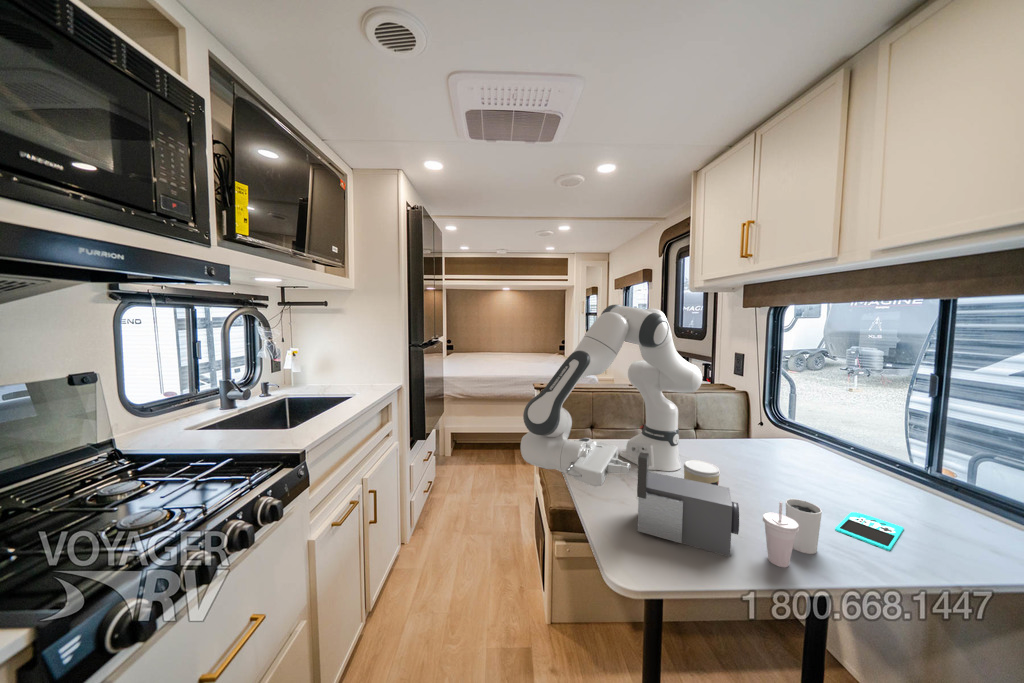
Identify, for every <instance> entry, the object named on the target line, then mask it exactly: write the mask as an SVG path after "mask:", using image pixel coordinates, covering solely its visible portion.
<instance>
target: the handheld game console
mask: <svg viewBox="0 0 1024 683" xmlns="http://www.w3.org/2000/svg"><path fill="white" fill-rule="evenodd" d="M834 530H835V531H836V532H838V533H841V534H843V535H845V536H848V537H850V538H854V539H856V540H860V541H862V542H864V543H866V544H868V545H869V544H870V545H872V546H874V547H875V546H877V547H878V548H879V549H882V550H885V551H887V552H891V551H892V548H893V547H894V545H895V543H897V541H898V540H899V538H900V536H901V535H902V533H903V531H904V530H905V528H904V527H903V526H901V525H898V524H895V523H892V522H889V521H885V520H883V519H880V518H877V517H874V516H871V515H868V514H864V513H860V512H855V511H850V513H848V515H846V516H845V517H844V518H843V520H842V521H841V522H840V523H838V524H837V526H835V528H834Z"/></svg>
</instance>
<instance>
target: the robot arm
mask: <svg viewBox="0 0 1024 683" xmlns="http://www.w3.org/2000/svg"><path fill="white" fill-rule="evenodd" d="M625 342H626V343H630V344H633V345H638V347H639V351H640V355H641V357H642V359H643V360H635V361H633V362H631V364H630V365H629V366H628V369H627V378H628V380H629V382H630V384H631V385H632V386H634V387H635V388H636V390H637V391H638V392H639V394H640V395H641V397H642V399H643V402H644V406H645V407H644V408H645V423H643V424H642V425H640V426H639V430H641V432H640V433H637V434H636V435H634V436H633V437H631V438H630V439H629V440H628V441H626V442H627V443H626V446H625V448H624V449H622V450H620V451H619V447H618V446H617V445H615V444H612V443H607V442H604V441H599V440H592V439H591V438H590V437H582V438H580V439H574V440H572V439H569V438H570V434H571V430H572V427H573V418H572V415H571V414H570V412H569V411H568V410H567V409H566V408H565V407H563V404H564V403H565V401H566V400H567V399H568V397H569V396H570V394H571V393H572V391H573V390H574V389H575V387H576V386H577V384H578V383H579V382H580V381H581V380H582V379H584V378H586V377H590V376H598V375H602V374H603V373H605V372H606V371H607V369H609V367H611V365H612V364H613V362H614V360H616V357H617V356H618V354H619V353H620V350H621V348H622V347H623V345H624V343H625ZM702 383H703V375H702V372H701V370H700V368H699V367H698V366H697V365H695V364H693V363H691V362H689V361H687V360H686V359H685V358H683V357H682V356H681V355H680V354H679V353H678V351H677V349H676V346H675V344H674V339H673V334H672V329H671V327H670V324H669V322H668V319H667V317H666V315H665V313H664V312H663V311H662V310H660V309H658V308H652V307H651V308H647V309H643V308H639V307H632V306H626V305H625V306H624V305H622V304H610V305H608V306H607V307H606V308H605V309H603V311H602V312H601V314H600V315H599V316H598V318H596V320H595V321H594V322H593V323H592V324H591V326H589V328H588V330H587V331H586V333H585V334H584V336H583V337H582V339H581V341H580V342H579V344H578V345H577V347H576V348H575V349H574V351H573V352H572V353H571V354H570V355H568V357H567V358H566V359H565V360H564V361H563V363H562V365H561V366H560V367H559V368H558V369H557V370H556V372H555V373H554V375H553V376H552V378H551V379H550V380H549V382H548V383H547V384H546V385H545V387H544V388H543V389H542V390H541V391H540V392H539V393H538V394H537V395H535V396H534V397H533V398H531V399H530V400H529V401H528V402H527V403H526V405H525V408H523V409H524V410H523V423H524V426H525V428H526V429H527V430H528V432H527V433H526V434H524V435H523V436H522V438H521V441H520V449H519V450H520V453H521V456H522V458H523V460H524V461H525V462H526V463H528V464H529V465H532V466H535V467H538V468H542V469H546V470H557V471H559V472H560V473H564V474H568V477H569V476H570V477H572V478H573V479H574V480H575V481H577V482H580V483H583V484H586V485H589V486H593V487H601V486H602V485H603V484H604V481H605V480H606V479H607V477H608V475H609V474H613V475H614V474H623V475H627V474H629V472H630V470H631V463H633V464H635V465H637V466H638V456H639V454H640V452H643V453H648V454H649V468H648V471H649V470H650V471H654V470H656V471H661V472H673V471H679V470H680V469H681V468H682V462H681V459H680V454H679V443H680V442H679V439H680V428H679V408H678V406H677V405H676V404H675V403H674V402H673V401H671V400H669V399H668V398H666V397H665V395H664V394H663V392H672V393H678V394H679V393H680V394H683V393H684V394H685V393H686V394H688V393H695V392H697V391H698V390H699V389H700V388H701V385H702ZM619 456H620V457H622V458H624V459H626V460H628V461H629V462H626V461H623V460H621V459H619ZM630 462H631V463H630Z"/></svg>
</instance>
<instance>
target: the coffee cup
mask: <svg viewBox="0 0 1024 683" xmlns="http://www.w3.org/2000/svg"><path fill="white" fill-rule="evenodd" d="M683 475H684V476H683V477H684V478H683V479H688V480H693V481H698V482H703V483H708V484H713V485H718V486H719V483H720V476H721V471H720V469H719V467H718V466H717V465H715V464H713V463H711V462H708V461H705V460H699V459H691V460H690V459H689V460H687V461H685V462H684V464H683Z"/></svg>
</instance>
